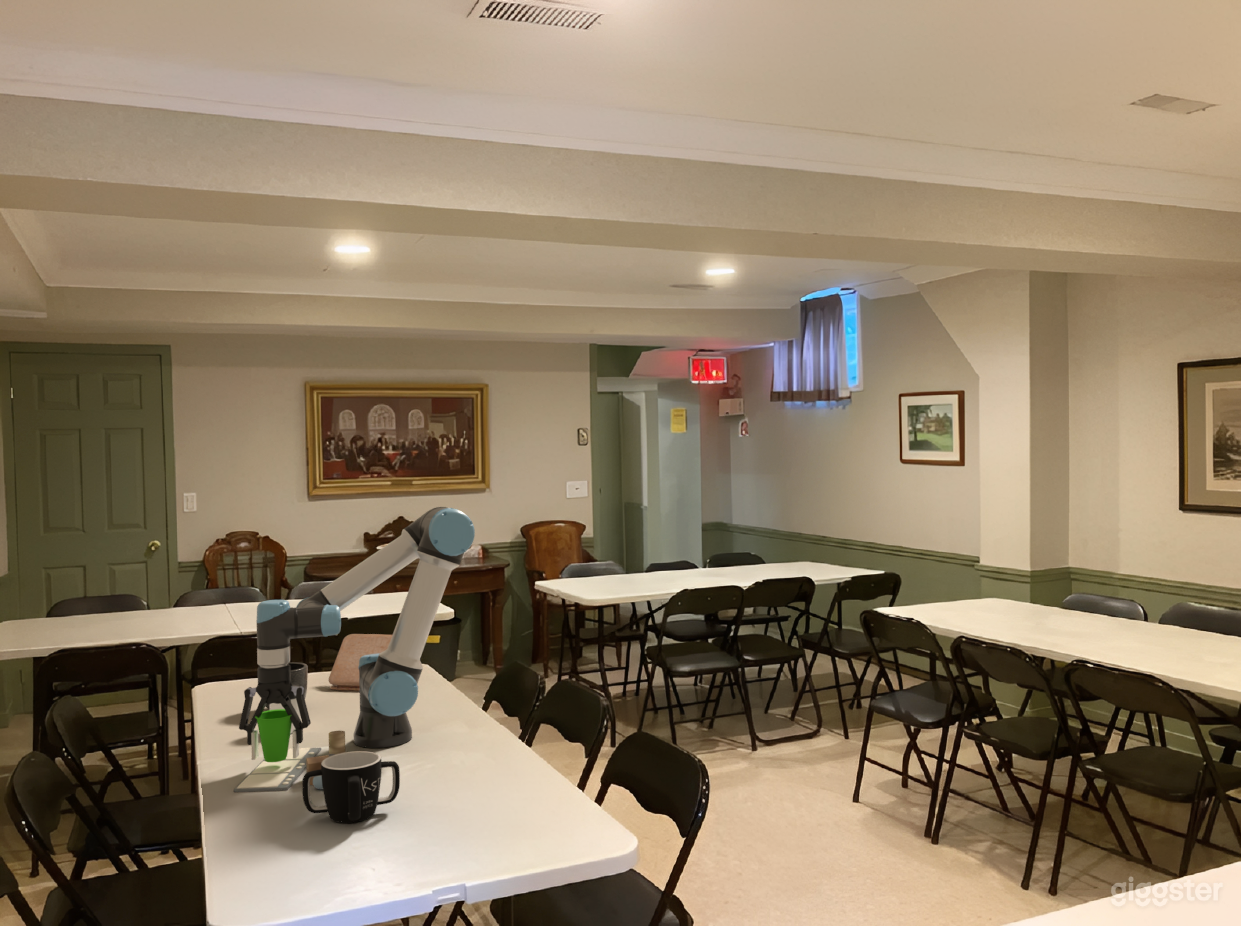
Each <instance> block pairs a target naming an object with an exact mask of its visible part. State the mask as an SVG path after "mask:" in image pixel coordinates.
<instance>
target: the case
mask: <svg viewBox="0 0 1241 926" xmlns="http://www.w3.org/2000/svg"><path fill="white" fill-rule="evenodd" d="M392 635H393V634H381V633H380V634H379V633H378V634H377V633H376V634H375V633H372V634H371V633H370V634H369V633H367V634H364V633H351V634H348V635H346V636H345V637H344V638H343V639H342V642H341V645H340V648H339V650H338V652H337V655H336V658H335V661H334V664H333V666H332V668H331V670H330V674H329V676H328V683H329V684H330V685H331V686H330V688H329V689H330V690H332V691H348V692H349V691H352V692H353V691H357V692H360V688H359V669H358V666H359V659H360V658H361V657H362V656H364V655H370V654H378V653H381V652H383V651H385V650H387V649H388V646H389V643H390V641H391V638H392Z"/></svg>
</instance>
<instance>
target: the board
mask: <svg viewBox="0 0 1241 926" xmlns="http://www.w3.org/2000/svg"><path fill="white" fill-rule="evenodd" d="M321 751H322V747H299V756H298V757H297V758H293V747H292V748H291V747H290V748H289V747H288V753H287V757H286V759H285V760H283V761H279V762H266V761H265V759H264V758H263V760H262V761H260V763H259V764H257V766H256V767H255V768H254V769H252V771H251V772H250V773H249V774H247V776H246V777H245V778H244V779H243V780H241V782H239V784H238V785H236V786H235V788H234V789H233V792H234V793H245V792H246V793H247V792H269V791H275V792H277V791H288V790H289V789H290V788H291V786H292V785H293V784H294V783H295V782H296V781H297V780H298V778H299V777H300V776H301V775H302V773H303V772H304V771H305V770H307V767H306V758H310V757H318V755H319V753H320V752H321Z"/></svg>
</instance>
